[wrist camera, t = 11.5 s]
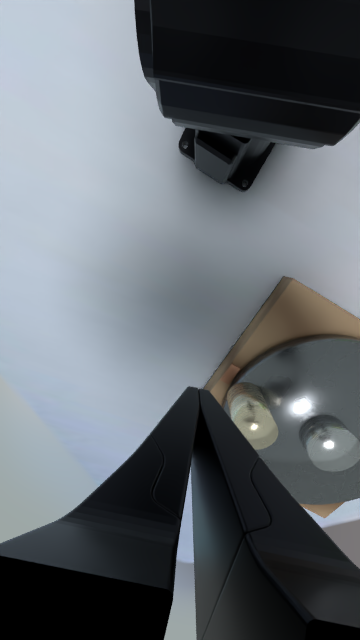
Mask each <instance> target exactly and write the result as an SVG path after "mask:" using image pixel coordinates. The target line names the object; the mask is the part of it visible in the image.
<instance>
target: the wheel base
mask: <svg viewBox="0 0 360 640" xmlns="http://www.w3.org/2000/svg"><path fill="white" fill-rule="evenodd" d="M323 334H327V335H344V336H352V337H356V338H360V319H359V318H357V317H355V316H354V315H352V314H350V313H349V312H347V311H346V310H344V309H342V308H341V307H339V306H337V305H336V304H334V303H333V302H331V301H329V300H328V299H326V298H324V297H323V296H321V295H320V294H318V293H316V292H315V291H313V290H311V289H310V288H308V287H306V286H305V285H303V284H302V283H300V282H298V281H297V280H295V279H293V278H289V277H285V276H284V277H283V278H282V280H281V281H280V282H279V284H278V285H277V287H276V288H275V289H274V291H273V292H272V294H271V295H270V296H269V298H268V299H267V301H266V302H265V303H264V305H263V306H262V307H261V309H260V310H259V312H258V313H257V314H256V316H255V317H254V319H253V320H252V321H251V323H250V324H249V326H248V327H247V328H246V330H245V331H244V333H243V334H242V335H241V337H240V338H239V340H238V341H237V342H236V344H235V345H234V347H233V348H232V349H231V351H230V352H229V354H228V355H227V356H226V358H225V359H224V361H223V362H222V363H221V365H220V366H219V367H218V369H217V370H216V372H215V373H214V374H213V376H212V377H211V379H210V380H209V381H208V383H207V384H206V386H205V387H204V388H203V389H205V390H209V391H210V392H211V394H212V395H213V396H214V397H215V399H216V400H217V401H218V403H219V404H220V405H221V406H222V402H223V399H224V397H225V394H226V392H227V390H228V388H229V386H230V384H231V383H232V381H233V380H234V379H235V377H236V376H237V375H238V373H239V372H240V371H241V370H242V369H243V368H244V367H245V366H246V365H247V364H249V363H250V362H251V361H252V360H254V359H255V358H256V357H257V356H259V355H261V354H262V353H264V352H266V351H267V350H269V349H271V348H273V347H275V346H277V345H279V344H282V343H285V342H288V341H291V340H294V339H297V338H302V337H307V336H313V335H323ZM343 503H344V502H341V503H334V504H325V505H309V504H300V505H301V506H302V507H304V508H306V509H308V510H310V511H312V512H314V513H315V514H317V515H319V516H321V517H323V518H326V517H327V516H328V515H329V514H331V513H332V512H333V511H334V510H336V509H337V508H338V507H339V506H341V505H342V504H343Z"/></svg>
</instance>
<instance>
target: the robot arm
mask: <svg viewBox="0 0 360 640" xmlns="http://www.w3.org/2000/svg"><path fill="white" fill-rule="evenodd" d="M134 3H135V19H136V32H137V40H138V49H139V55H140V61H141V66H142V70H143V73H144V77H145V79H146V80H147V82H148V83H149V84H150V86H151V87H152V88H153V89H154V90H155V91H156V95H157V101H158V105H159V109H160V111H161V113H162V114H163V116H164V118H169V119H172V122H173V123H174V124H175V125H176V126H180V127H186V128H185V130H184V132H183V134H182V137H181V139H180V141H179V150H180V152H181V153H182V154H183V155H185V156H186V157H188V158H189V159H191V160H193V161H194V162H195V166H196V168H197V169H199V170H200V171H202V172H203V173H205V174H207V175H208V176H210V177H211V178H213V179H214V180H216V181H218V182H219V183H221V184H223V183H226V182H227V183H228V184H230V185H232V186H233V187H235V188H236V189H238V190H239V191H242V192H245V191H247V190H248V189H249V188H250V186H251V185H252V183H253V181H254V180H255V178H256V176H257V174H258V173H259V171H260V169H261V168H262V166H263V164H264V162H265V161H266V159H267V157H268V156H269V154H270V152H271V151H272V149H273V147H274V145H275V144H276V143H280V144H286V145H292V146H297V147H303V148H309V149H316V148H320V147H323V146H324V145H328V146H334V145H335V144H337V143H338V142H339V141H341V140H342V139H343V138H344V137H345V136H347V135H348V134H349V133H350V132H351V131H352V130H353V129H354V128H355V127H356V126H357V125H358V124H359V123H360V0H134ZM185 143H186V144H188V147H187V148H186V149H184V148H183V147H182V145H183V144H185ZM244 181H245V182H246V183H247V186H246V187H243V186H242V182H244ZM190 467H191V483H192V513H193V543H194V571H195V572H194V573H195V603H196V634H197V640H360V569H359V568H358V567H357V566H356V565H355V564H354V563H353V562H352V561H351V560H350V559H349V558H348V557H347V556H346V555H345V554H344V553H343V552H342V551H341V549H340V548H339V547H338V546H337V545H336V544H335V543H334V542H333V541H332V540H331V538H330V537H329V536H328V535H327V534H326V533H325V532H324V531H323V530H322V528H321V527H320V526H319V525H318V524H317V523H316V522H315V521H314V520H313V518H312V517H311V516H310V515H309V514H308V513H307V512H306V511H305V510H304V508H303V507H302V506H301V505H300V504H299V503H298V502H297V501H296V499H295V498H294V497H293V496H292V495H291V494H290V493H289V491H288V490H287V489H286V488H285V487H284V486H283V485H282V483H281V482H280V481H279V480H278V478H277V477H276V476H275V475H274V473H273V472H272V471H271V470H270V468H269V467H268V466H267V465H266V463H265V462H264V461H263V459H262V458H261V457H259V454H258V453H257V452H256V451H255V449H254V448H253V447H252V445H251V444H250V443H249V441H248V440H247V439H246V438H245V436H244V435H243V434H242V432H241V431H240V430H239V429H238V427H237V426H236V425H235V423H234V422H233V421H232V419H231V418H230V417H229V416H228V414H227V413H226V412H225V410H224V409H223V408H222V407H221V405H220V404H219V403H218V401H217V400H216V399H215V397H214V396H213V395H212V394H211V392H210V391H209V390H205V389H199V390H198V388H195V387H190V386H189V387H187V388H186V390H185V391H184V392H183V393H182V395H181V396H180V397H179V398H178V400H177V401H176V402H175V403H174V405H173V406H172V407H171V408H170V410H169V411H168V412H167V413H166V415H165V416H164V417H163V418H162V419H161V421H160V422H159V423H158V424H157V426H156V427H155V428H154V429H153V431H152V432H151V433H150V435H149V436H148V437H147V438H146V439H145V440H144V442H143V443H142V444H141V445H140V446H139V447H138V449H137V450H136V451H135V452H134V453H133V454H132V455H131V456H130V457H129V458H128V459H127V460H126V461H125V462H124V463H123V464H122V465H121V466H120V467H119V468H118V469H117V470H116V471H115V472H114V473H113V474H112V475H111V476H110V477H109V478H107V479H106V480H105V481H104V482H103V483H102V484H101V485H100V486H99V487H98V488H97V489H96V490H95V491H94V492H93V493H91V495H89V497H87V498H86V499H85V500H84V501H83V502H82V503H81V504H80V505H78V506H77V507H76V508H75V509H74V510H72V511H71V512H69V513H68V514H67V515H65V516H64V517H62V518H61V519H58V520H57V521H54V522H52V523H50V524H47V525H45V526H42V527H40V528H37V529H35V530H32V531H30V532H27V533H25V534H22V535H20V536H18V537H15V538H13V539H10V540H8V541H5V542H3V543H0V640H164V636H165V632H166V627H167V623H168V619H169V615H170V610H171V606H172V601H173V591H174V580H175V568H176V556H177V548H178V540H179V534H180V527H181V521H182V515H183V509H184V503H185V497H186V491H187V485H188V479H189V473H190Z"/></svg>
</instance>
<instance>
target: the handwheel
mask: <svg viewBox="0 0 360 640" xmlns="http://www.w3.org/2000/svg"><path fill="white" fill-rule="evenodd" d="M221 407H222V408H223V409H224V410H225V412H226V413H227V414H228V416H229V417H230V418H231V419H232V421H233V422H234V423H235V425H236V426H237V427H238V429H239V430H240V431H241V432H242V434H243V435H244V436H245V438H246V439H247V440H248V441H249V443H250V444H251V445H252V447H253V448H254V449H255V451H256V452H257V453H258V454H259V457H261V458H262V459H263V461H264V462H265V463H266V465H267V466H268V467H269V468H270V470H271V471H272V472H273V473H274V475H275V476H276V477H277V478H278V480H279V481H280V482H281V483H282V485H283V486H284V487H285V488H286V489H287V490H288V491H289V493H290V494H291V495H292V496H293V497H294V498H295V499H296V501H297V502H298V503H299V504H309V505H325V504H334V503H341V502H346V501H350V500H354V499H357V498H360V338H356V337H352V336H344V335H327V334H323V335H313V336H307V337H302V338H297V339H294V340H291V341H288V342H285V343H282V344H279V345H277V346H275V347H273V348H271V349H269V350H267V351H266V352H264V353H262V354H261V355H259V356H257V357H256V358H255V359H254V360H252V361H251V362H250V363H249V364H247V365H246V366H245V367H244V368H243V369H242V370H241V371H240V372H239V373H238V375H237V376H236V377H235V379H234V380H233V381H232V383H231V384H230V386H229V388H228V390H227V392H226V394H225V397H224V399H223V402H222V406H221Z"/></svg>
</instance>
